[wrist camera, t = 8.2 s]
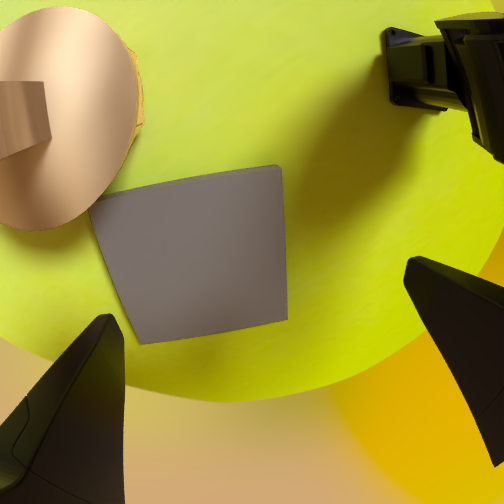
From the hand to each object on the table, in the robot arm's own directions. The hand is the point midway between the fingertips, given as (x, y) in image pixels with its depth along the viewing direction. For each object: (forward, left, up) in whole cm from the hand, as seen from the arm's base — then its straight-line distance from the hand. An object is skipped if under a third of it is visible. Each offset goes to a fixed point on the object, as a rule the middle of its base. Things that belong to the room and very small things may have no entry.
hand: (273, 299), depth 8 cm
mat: (+3, +6, -13) cm, 15 cm away
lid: (+10, -7, -8) cm, 15 cm away
